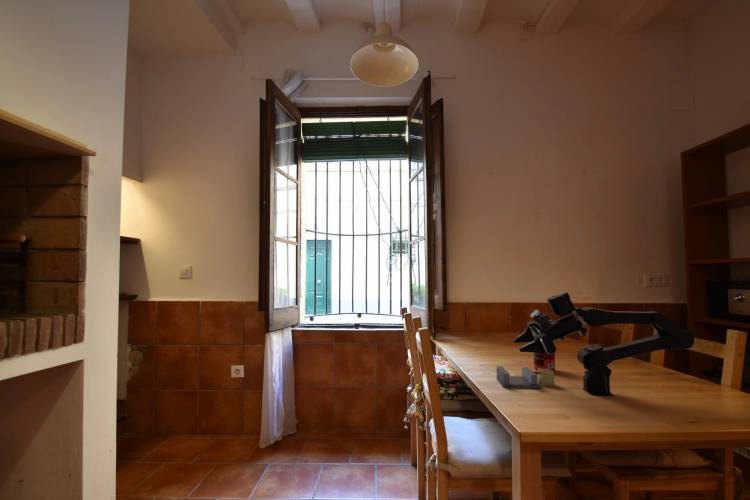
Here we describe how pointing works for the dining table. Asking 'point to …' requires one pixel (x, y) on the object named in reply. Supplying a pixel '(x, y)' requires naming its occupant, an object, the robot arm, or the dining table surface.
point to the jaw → (529, 375)
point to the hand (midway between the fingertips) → (516, 345)
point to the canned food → (544, 361)
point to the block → (546, 377)
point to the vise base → (514, 380)
